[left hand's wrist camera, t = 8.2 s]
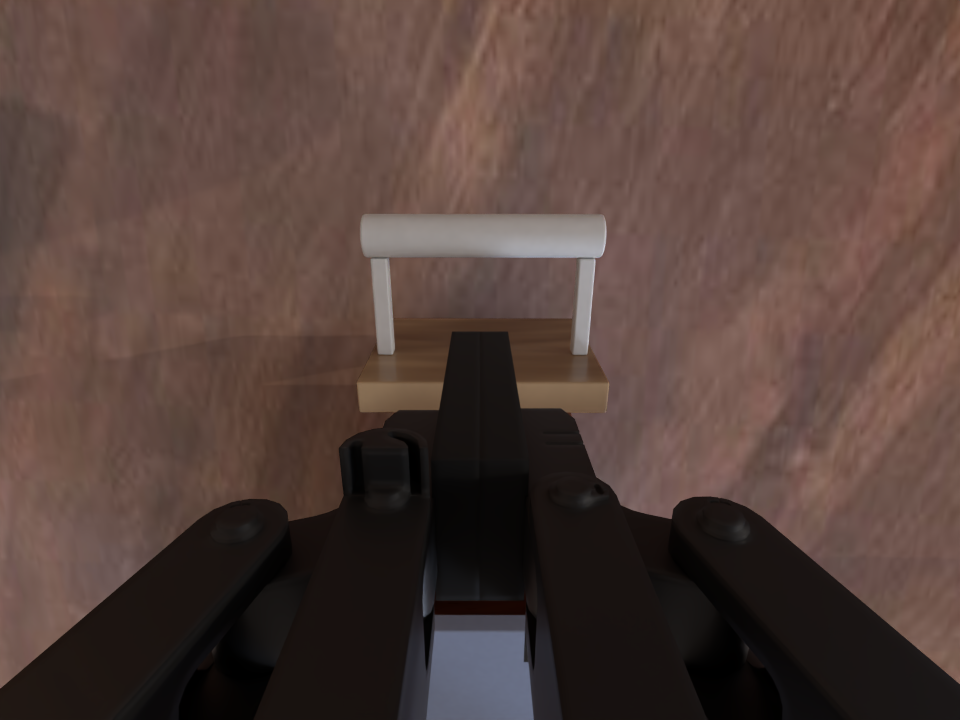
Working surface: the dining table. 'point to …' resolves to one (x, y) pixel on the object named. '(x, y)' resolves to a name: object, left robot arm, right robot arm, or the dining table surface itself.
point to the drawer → (483, 323)
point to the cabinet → (479, 669)
